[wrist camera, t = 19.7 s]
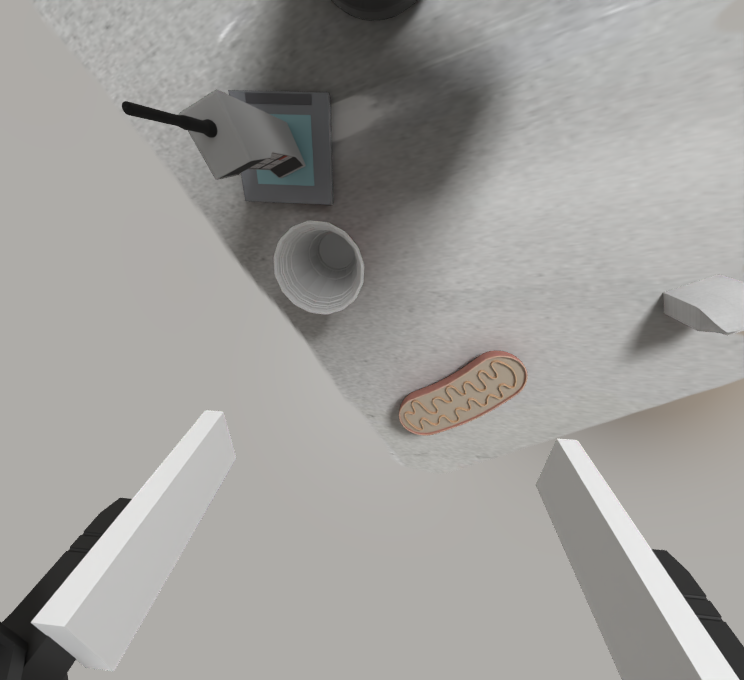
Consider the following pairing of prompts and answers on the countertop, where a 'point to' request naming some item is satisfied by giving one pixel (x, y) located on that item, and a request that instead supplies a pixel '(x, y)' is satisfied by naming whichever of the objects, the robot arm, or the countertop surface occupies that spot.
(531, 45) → the countertop surface
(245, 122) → the vintage mobile phone
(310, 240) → the plastic cup
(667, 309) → the white house shaped block
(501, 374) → the anatomical model
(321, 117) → the pad
